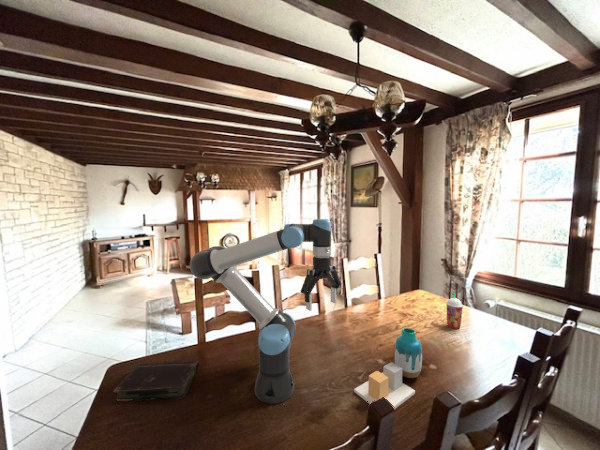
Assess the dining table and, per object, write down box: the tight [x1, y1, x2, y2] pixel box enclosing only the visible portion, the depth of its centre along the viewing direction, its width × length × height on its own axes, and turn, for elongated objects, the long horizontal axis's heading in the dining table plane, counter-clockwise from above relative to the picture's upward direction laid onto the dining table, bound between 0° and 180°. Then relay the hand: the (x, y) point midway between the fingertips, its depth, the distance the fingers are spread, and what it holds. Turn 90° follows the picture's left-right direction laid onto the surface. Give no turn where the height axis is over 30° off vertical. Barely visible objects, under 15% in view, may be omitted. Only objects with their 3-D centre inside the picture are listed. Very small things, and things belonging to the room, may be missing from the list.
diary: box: [112, 360, 200, 402], centre depth 103 cm, size 19×25×5 cm
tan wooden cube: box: [368, 370, 389, 400], centre depth 95 cm, size 5×5×7 cm
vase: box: [394, 327, 423, 379], centre depth 108 cm, size 11×11×19 cm
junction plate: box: [353, 361, 416, 409], centre depth 98 cm, size 18×14×8 cm
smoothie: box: [446, 293, 464, 330], centre depth 151 cm, size 8×8×20 cm
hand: (321, 305), depth 109 cm, fingers open, 13 cm apart
